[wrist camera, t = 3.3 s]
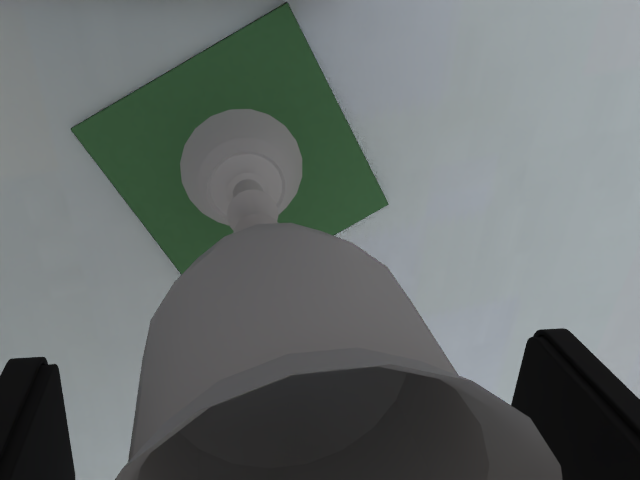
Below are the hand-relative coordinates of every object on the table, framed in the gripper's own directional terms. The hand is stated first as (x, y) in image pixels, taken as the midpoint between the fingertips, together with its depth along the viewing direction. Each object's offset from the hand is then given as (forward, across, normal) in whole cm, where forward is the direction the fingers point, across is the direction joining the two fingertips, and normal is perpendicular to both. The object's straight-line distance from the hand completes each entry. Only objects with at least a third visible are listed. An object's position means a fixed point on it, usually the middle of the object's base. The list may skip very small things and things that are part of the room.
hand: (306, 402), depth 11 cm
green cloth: (+14, 0, 0) cm, 14 cm away
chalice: (+14, 0, 0) cm, 14 cm away
